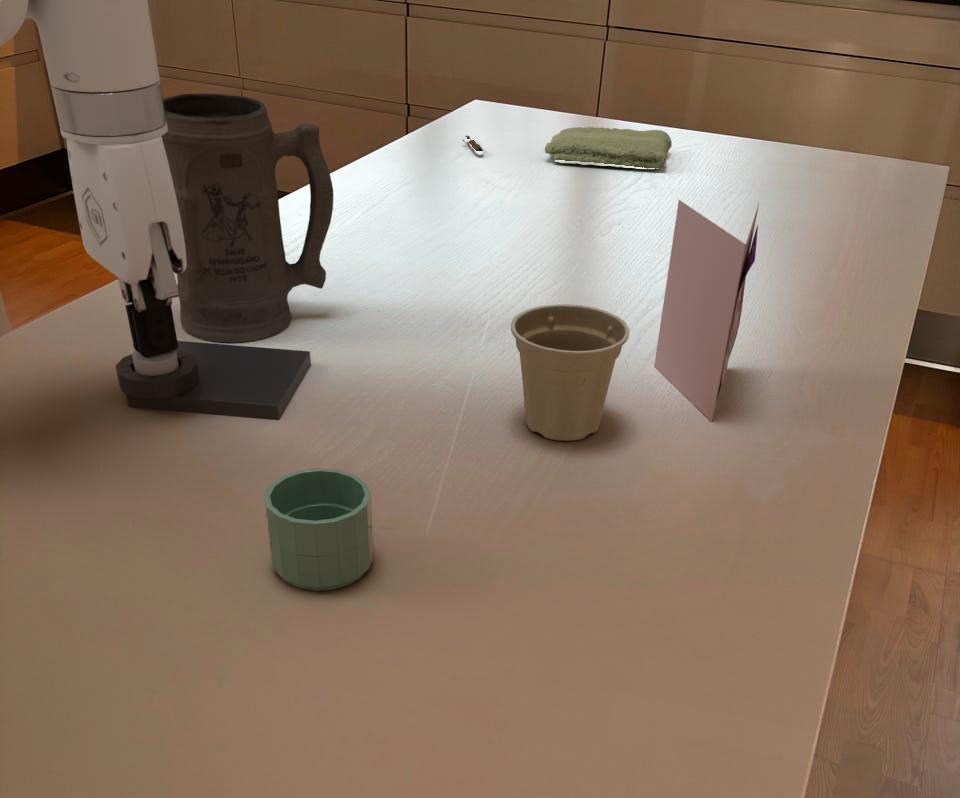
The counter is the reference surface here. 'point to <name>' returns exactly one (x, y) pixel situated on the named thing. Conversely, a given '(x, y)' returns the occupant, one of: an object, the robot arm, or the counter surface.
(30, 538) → the counter surface
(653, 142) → the washcloth
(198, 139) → the beer stein
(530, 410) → the flower pot
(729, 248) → the greeting card
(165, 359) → the button
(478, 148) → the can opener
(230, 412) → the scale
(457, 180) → the counter surface
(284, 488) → the cup
